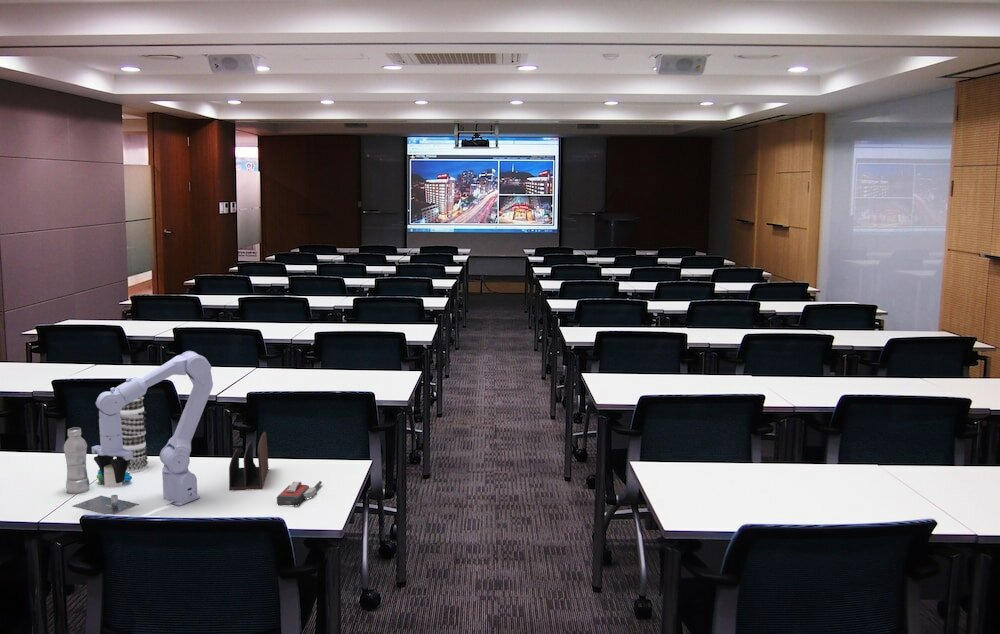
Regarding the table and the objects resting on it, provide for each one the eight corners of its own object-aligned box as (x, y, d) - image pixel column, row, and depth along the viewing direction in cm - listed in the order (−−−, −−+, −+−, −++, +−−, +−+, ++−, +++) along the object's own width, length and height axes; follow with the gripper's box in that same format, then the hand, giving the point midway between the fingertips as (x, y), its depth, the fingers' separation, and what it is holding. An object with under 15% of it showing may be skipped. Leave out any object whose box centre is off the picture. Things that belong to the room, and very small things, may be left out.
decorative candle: (141, 462, 296) (137, 389, 293) (154, 468, 290) (150, 394, 287) (114, 468, 290) (110, 394, 286) (126, 474, 284) (122, 398, 280)
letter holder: (268, 469, 290) (267, 428, 288) (262, 489, 271) (261, 445, 269) (237, 471, 288) (235, 429, 286) (228, 491, 269) (227, 446, 267)
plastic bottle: (64, 498, 262) (60, 432, 259) (68, 490, 268) (64, 427, 265) (88, 496, 263) (84, 431, 261) (91, 489, 270) (87, 425, 267)
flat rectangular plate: (139, 507, 254) (138, 492, 254) (110, 518, 245) (109, 503, 245) (101, 498, 261) (100, 484, 261) (71, 509, 252) (70, 494, 252)
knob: (114, 481, 253) (113, 462, 253) (125, 483, 251) (124, 464, 251) (101, 485, 249) (100, 466, 249) (112, 488, 247) (111, 468, 247)
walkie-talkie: (303, 508, 255) (324, 486, 275) (303, 494, 254) (323, 472, 274) (274, 507, 256) (296, 485, 275) (273, 493, 255) (296, 471, 275)
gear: (139, 478, 275) (119, 463, 267) (132, 496, 271) (112, 481, 264) (109, 480, 278) (89, 465, 270) (102, 497, 274) (82, 482, 267)
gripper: (81, 434, 248) (84, 480, 250) (116, 441, 242) (119, 488, 244) (102, 428, 254) (105, 473, 256) (138, 435, 248) (140, 481, 250)
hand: (113, 480), depth 250 cm, fingers closed on knob, 4 cm apart
